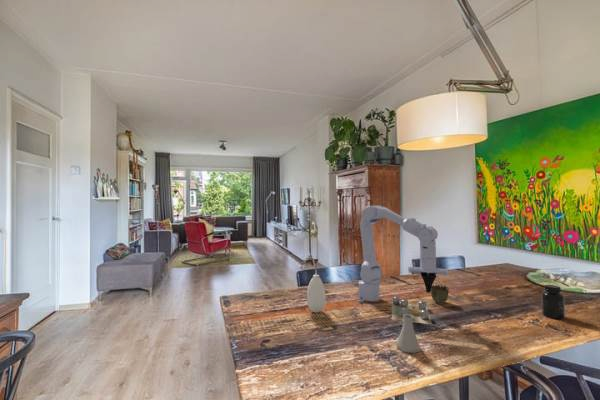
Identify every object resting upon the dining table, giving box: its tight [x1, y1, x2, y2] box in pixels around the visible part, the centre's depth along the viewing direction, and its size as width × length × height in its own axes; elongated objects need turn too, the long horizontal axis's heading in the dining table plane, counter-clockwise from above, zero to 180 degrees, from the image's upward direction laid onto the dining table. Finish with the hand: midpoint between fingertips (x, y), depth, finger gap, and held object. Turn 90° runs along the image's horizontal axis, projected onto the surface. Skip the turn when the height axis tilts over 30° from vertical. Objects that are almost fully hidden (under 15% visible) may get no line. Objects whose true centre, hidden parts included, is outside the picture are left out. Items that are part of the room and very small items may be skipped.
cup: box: [430, 284, 450, 305], centre depth 126 cm, size 8×7×8 cm
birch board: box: [391, 302, 433, 325], centre depth 115 cm, size 14×19×1 cm
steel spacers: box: [392, 295, 430, 320], centre depth 116 cm, size 13×16×3 cm
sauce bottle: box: [306, 270, 327, 314], centre depth 119 cm, size 8×8×18 cm
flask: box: [396, 314, 422, 354], centre depth 90 cm, size 7×7×10 cm
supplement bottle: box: [541, 284, 566, 320], centre depth 113 cm, size 7×7×12 cm
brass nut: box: [407, 305, 419, 315], centre depth 114 cm, size 4×4×2 cm
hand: (428, 291), depth 113 cm, fingers closed
